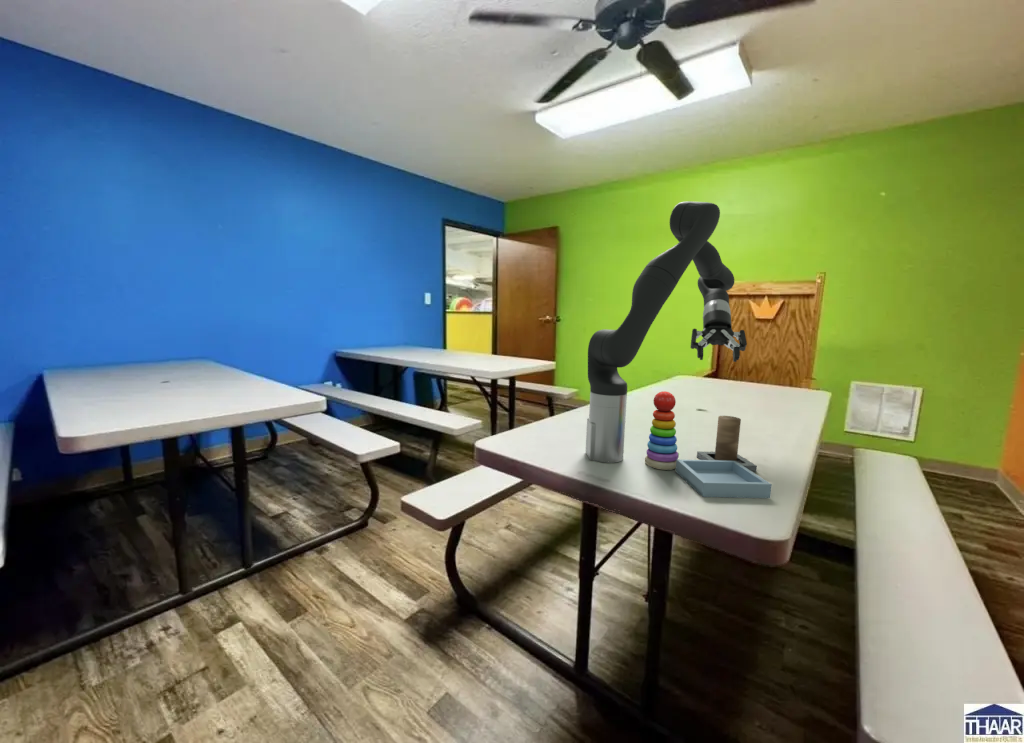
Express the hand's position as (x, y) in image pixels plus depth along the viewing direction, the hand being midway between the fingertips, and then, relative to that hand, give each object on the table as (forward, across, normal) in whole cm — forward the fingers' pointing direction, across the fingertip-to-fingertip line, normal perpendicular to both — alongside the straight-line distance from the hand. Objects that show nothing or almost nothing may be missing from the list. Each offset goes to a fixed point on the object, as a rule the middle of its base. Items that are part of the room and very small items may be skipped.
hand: (718, 359), depth 114 cm
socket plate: (+28, +2, +8) cm, 29 cm away
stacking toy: (+33, -13, +3) cm, 36 cm away
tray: (+38, -1, -2) cm, 38 cm away
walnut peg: (+28, +2, +8) cm, 29 cm away
